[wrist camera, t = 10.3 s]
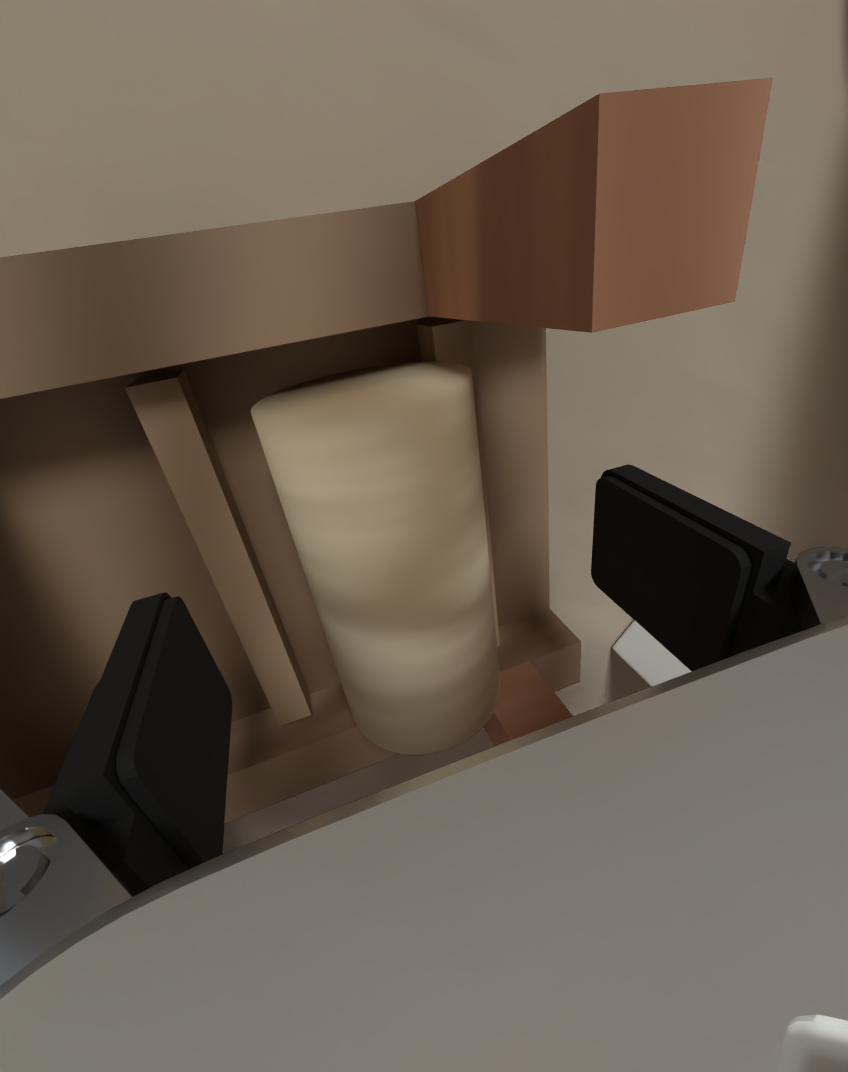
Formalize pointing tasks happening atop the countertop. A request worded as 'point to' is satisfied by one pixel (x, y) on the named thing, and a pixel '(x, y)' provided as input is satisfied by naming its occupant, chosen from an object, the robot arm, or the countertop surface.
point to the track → (309, 353)
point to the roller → (393, 543)
